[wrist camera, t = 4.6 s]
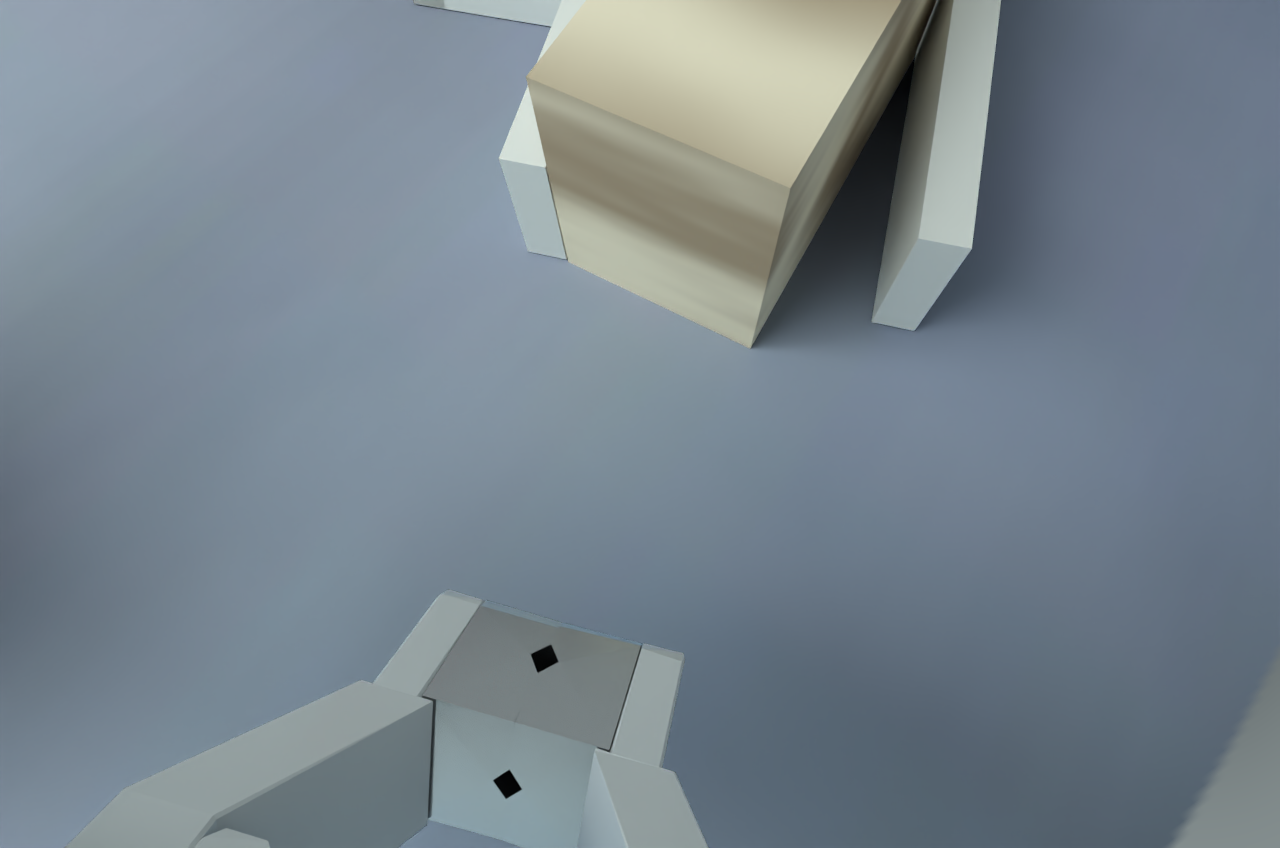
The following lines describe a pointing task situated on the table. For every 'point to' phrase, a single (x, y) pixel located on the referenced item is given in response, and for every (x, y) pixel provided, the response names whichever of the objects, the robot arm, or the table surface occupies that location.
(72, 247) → the table surface
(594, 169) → the birch block
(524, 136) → the trap lane
